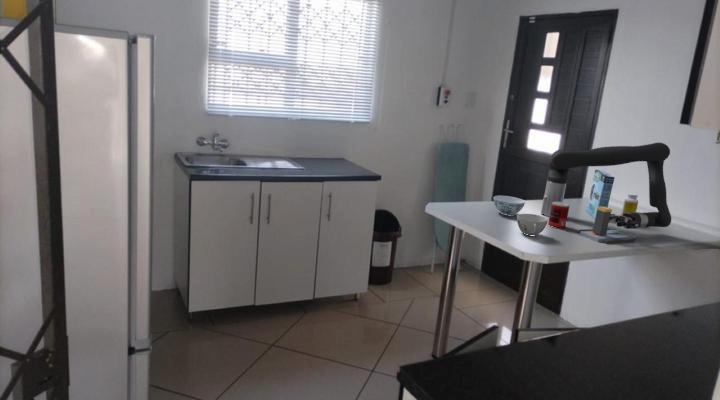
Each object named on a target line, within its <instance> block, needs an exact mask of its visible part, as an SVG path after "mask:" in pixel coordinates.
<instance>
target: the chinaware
mask: <svg viewBox="0 0 720 400" xmlns="http://www.w3.org/2000/svg"><path fill="white" fill-rule="evenodd" d="M493 203H494V206H495V208H496V209H497V210H498V211H499V213H500V212H501V213H503V214H507V215H514V216H515V214H519V212H520V211H522V209H523V208H524V207H525V204H526V201H525V200H524V199H522V198H519V197H514V196H509V195H495V196H493Z"/></svg>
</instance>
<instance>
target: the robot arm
mask: <svg viewBox="0 0 720 400" xmlns="http://www.w3.org/2000/svg"><path fill="white" fill-rule="evenodd" d="M670 155H671V149H670V147H669V146H668V145H667V144H665V143H663V142H653V143H648V144H642V145H634V146H631V145H618V146H614V145H613V146H602V147H597V148H595V147H594V148H591V149H588V150H583V151H582V150H581V151H567V150H565V149H557V150H555V151H554V152H553V153H552V154H551V157H550V160H549V161H550V162H549V166H548V173H547V179H546V183H545V184H546V186H545V190H544V194H543V199H542V204H541V210H540V215H542V214H544V215H543V216H546V217H550V211H551V206H552V202H563V203H564V197H565V193H566V189H567V183H568V177H569V176H568V175H569V169H572V168H573V169H574V168H580V167H609V166H610V167H611V166H620V165H625V164H630V163H635V162H646V164H647V165H646V166H647V170H648V171H647V172H648V186H649V187H648V190H649V192H648V195H649V196H648V198H649V200H648V201H649V206H651V207H652V208H655V209H657V211H648V212H644V211H643V212H639V211H636V212H627V213H624V214H623V215H621V214H620V215H617V214H615V213H611V215H610V220H609V222H611V223H613V224H616V227H623V228H625V229H628V230H632V229H633V230H634V229H642V228H643V229H644V228H651V227H653V228H667V227H669V226H670V225H671V223H672V215H671V212H670V209H669V205H668V201H667V186H666V181H665V177H664V162H665V161H666V160H667V159H668V158H669V156H670Z"/></svg>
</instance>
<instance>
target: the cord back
mask: <svg viewBox="0 0 720 400" xmlns="http://www.w3.org/2000/svg"><path fill="white" fill-rule="evenodd" d="M607 230H610V229H609V228H608V229H607ZM580 231H593V228H588V229H585V228H584V229H583V228H582V229H578V232H579V233H578V234H580Z"/></svg>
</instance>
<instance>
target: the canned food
mask: <svg viewBox="0 0 720 400" xmlns="http://www.w3.org/2000/svg"><path fill="white" fill-rule="evenodd" d="M569 210H570V203H569V204H568V202H567V203H566V202H564V201H563V202H552V206H551V211H550V216H548V217H549V218H548V221H547V224H548V226H549V225H550V226H549V227H551V226H553V227H552V228H554V227H556V228H555V229H560V228H562V229H565V228H566V224H567V220H568V216H569Z"/></svg>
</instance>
